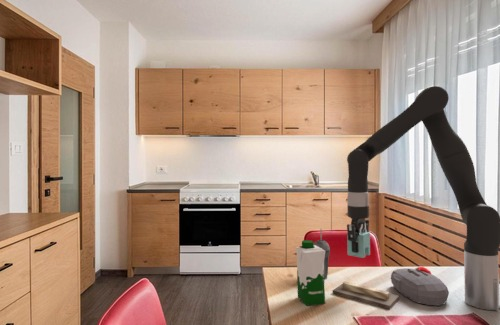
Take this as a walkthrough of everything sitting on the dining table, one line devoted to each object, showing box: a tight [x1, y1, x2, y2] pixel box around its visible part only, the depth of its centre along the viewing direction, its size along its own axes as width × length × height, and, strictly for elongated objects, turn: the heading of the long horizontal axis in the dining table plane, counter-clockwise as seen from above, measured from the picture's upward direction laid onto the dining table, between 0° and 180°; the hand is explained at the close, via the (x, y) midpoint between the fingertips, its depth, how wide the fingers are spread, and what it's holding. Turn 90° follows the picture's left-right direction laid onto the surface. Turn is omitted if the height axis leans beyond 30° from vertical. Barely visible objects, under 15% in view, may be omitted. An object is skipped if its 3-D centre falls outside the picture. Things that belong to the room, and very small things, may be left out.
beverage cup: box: [313, 228, 331, 281], centre depth 133 cm, size 7×7×20 cm
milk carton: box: [295, 239, 326, 307], centre depth 112 cm, size 9×9×20 cm
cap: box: [416, 266, 432, 274], centre depth 128 cm, size 8×6×6 cm
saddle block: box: [346, 231, 371, 259], centre depth 118 cm, size 6×6×8 cm
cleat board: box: [332, 281, 400, 310], centre depth 114 cm, size 20×10×3 cm, turn 49°
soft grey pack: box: [390, 267, 450, 306], centre depth 115 cm, size 15×8×20 cm
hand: (358, 250), depth 118 cm, fingers closed on saddle block, 5 cm apart
